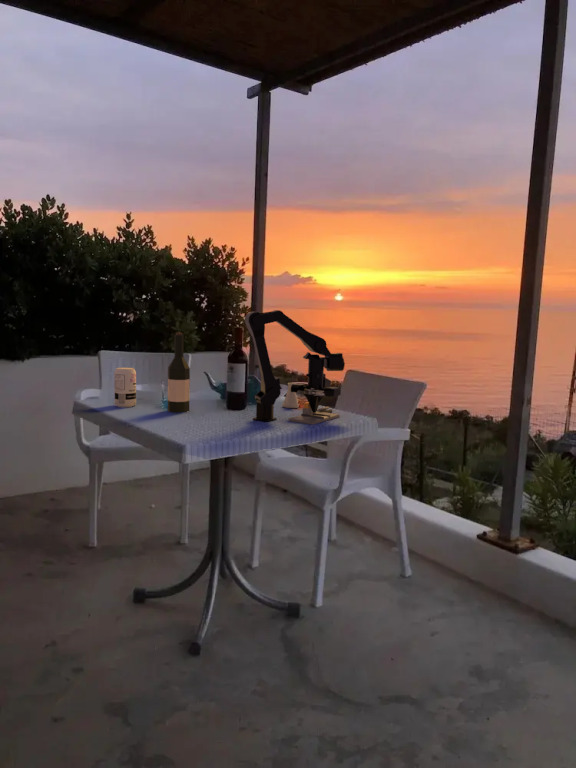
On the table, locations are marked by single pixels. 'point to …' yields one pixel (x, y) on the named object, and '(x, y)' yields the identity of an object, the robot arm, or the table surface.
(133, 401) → the supplement can
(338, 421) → the table surface
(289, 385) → the flask
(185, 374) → the wine bottle
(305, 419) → the panel
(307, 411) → the toggle
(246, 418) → the table surface
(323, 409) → the cables
